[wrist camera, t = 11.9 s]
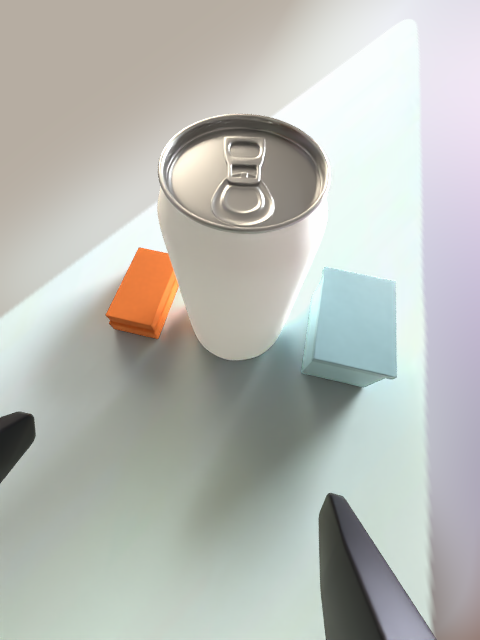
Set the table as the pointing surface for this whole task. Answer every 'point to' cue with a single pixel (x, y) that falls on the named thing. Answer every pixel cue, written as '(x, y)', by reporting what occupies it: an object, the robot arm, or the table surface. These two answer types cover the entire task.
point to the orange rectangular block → (144, 295)
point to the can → (241, 225)
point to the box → (351, 329)
